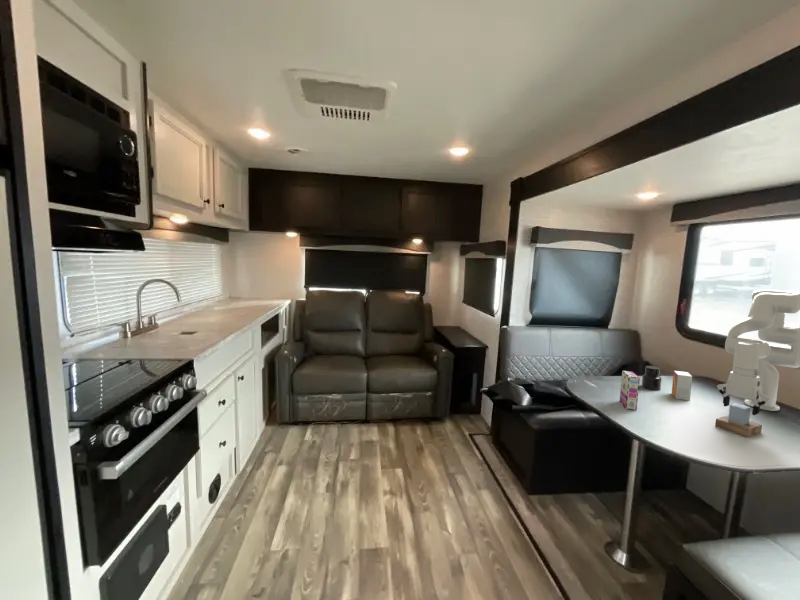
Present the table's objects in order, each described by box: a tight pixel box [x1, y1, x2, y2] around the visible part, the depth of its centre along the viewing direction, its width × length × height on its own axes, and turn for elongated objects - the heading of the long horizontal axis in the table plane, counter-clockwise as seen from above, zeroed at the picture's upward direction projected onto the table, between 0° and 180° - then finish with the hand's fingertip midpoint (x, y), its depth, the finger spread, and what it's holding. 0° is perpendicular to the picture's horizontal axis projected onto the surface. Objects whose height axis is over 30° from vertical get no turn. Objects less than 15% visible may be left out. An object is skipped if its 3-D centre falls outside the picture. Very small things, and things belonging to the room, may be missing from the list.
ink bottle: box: [641, 365, 662, 391], centre depth 206 cm, size 10×9×12 cm
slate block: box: [728, 402, 752, 425], centre depth 155 cm, size 5×5×7 cm
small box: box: [671, 370, 693, 401], centre depth 192 cm, size 8×6×13 cm
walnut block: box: [714, 414, 763, 439], centre depth 156 cm, size 11×11×4 cm
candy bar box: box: [619, 370, 641, 411], centre depth 179 cm, size 11×5×16 cm, turn 163°
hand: (740, 409), depth 155 cm, fingers open, 9 cm apart
